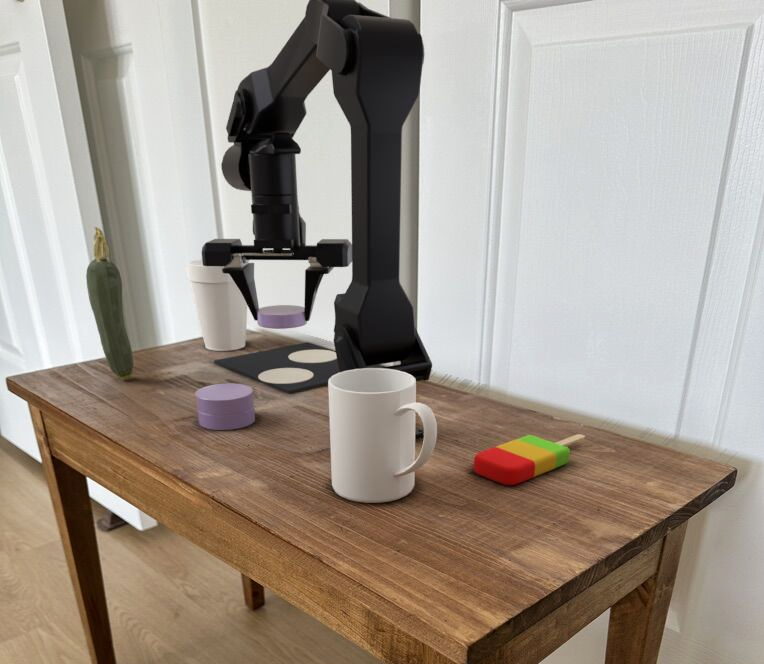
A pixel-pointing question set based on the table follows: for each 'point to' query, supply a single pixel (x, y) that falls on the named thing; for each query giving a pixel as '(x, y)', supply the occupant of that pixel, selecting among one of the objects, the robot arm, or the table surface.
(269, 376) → the place mat
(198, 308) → the foam cup
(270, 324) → the purple round puck
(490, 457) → the popsicle
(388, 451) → the mug
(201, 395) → the purple puck
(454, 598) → the table surface
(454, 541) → the table surface
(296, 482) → the table surface
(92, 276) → the vegetable
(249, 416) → the purple flat disc
